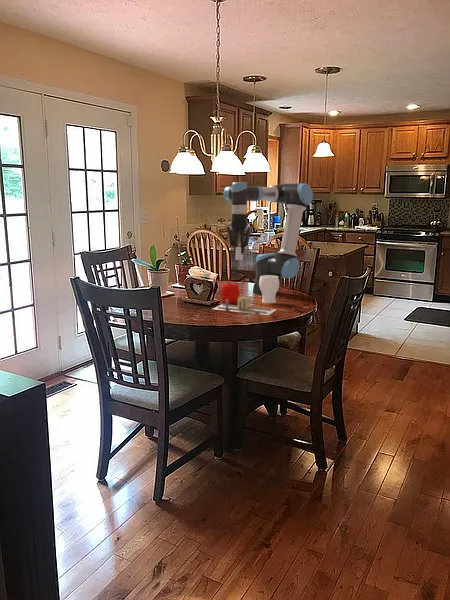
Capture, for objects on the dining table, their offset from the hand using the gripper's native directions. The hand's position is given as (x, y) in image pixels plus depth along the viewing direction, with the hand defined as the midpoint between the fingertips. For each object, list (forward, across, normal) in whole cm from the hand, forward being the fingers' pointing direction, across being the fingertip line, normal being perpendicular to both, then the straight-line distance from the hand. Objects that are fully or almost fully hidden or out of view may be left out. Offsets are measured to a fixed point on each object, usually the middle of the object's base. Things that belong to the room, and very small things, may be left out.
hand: (239, 259), depth 260 cm
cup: (+25, +13, +10) cm, 30 cm away
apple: (+25, -5, 0) cm, 25 cm away
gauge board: (+24, +8, -12) cm, 28 cm away
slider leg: (+23, +8, -14) cm, 28 cm away
